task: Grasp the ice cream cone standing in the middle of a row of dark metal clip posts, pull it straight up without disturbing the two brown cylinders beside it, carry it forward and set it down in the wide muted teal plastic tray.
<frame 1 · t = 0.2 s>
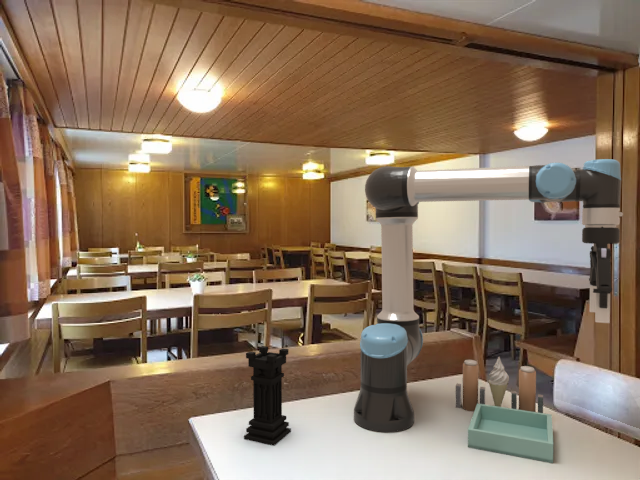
hand: (598, 317, 111), 28 cm above the table, fingers open, 13 cm apart
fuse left: (470, 408, 127), on the table
clip row: (497, 412, 124), on the table
ice cream cone: (497, 413, 124), on the table
chess piece: (267, 436, 111), on the table
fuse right: (526, 417, 121), on the table
tray: (511, 438, 109), on the table
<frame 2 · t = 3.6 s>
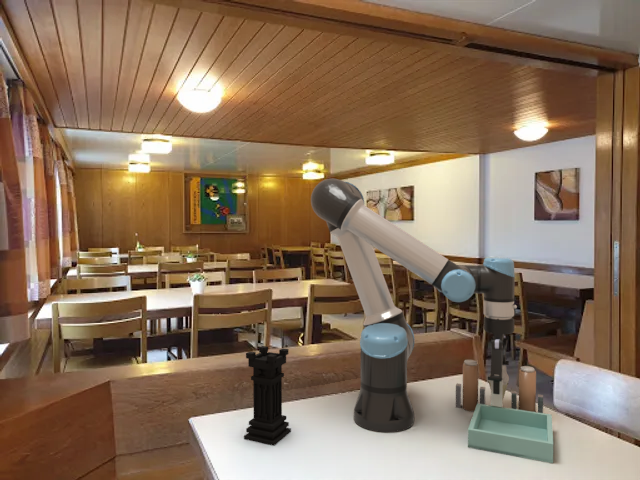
hand: (498, 397, 124), 4 cm above the table, fingers open, 13 cm apart
nothing on the table moved.
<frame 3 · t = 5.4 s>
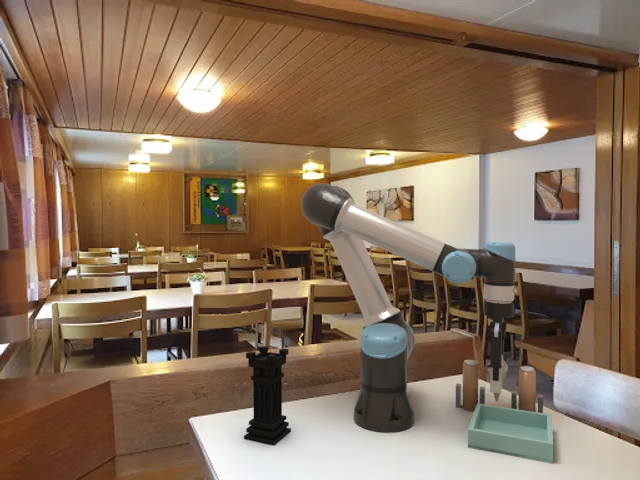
hand: (496, 388, 124), 6 cm above the table, fingers closed on ice cream cone, 5 cm apart
ice cream cone: (496, 402, 124), point 3 cm above the table, touching gripper
everything else where it was.
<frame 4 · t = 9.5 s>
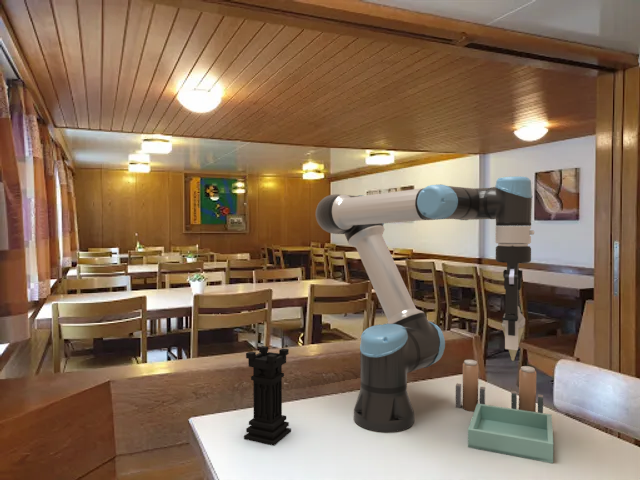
hand: (512, 346, 108), 22 cm above the table, fingers closed on ice cream cone, 5 cm apart
ice cream cone: (512, 361, 109), point 18 cm above the table, touching gripper
everything else where it was.
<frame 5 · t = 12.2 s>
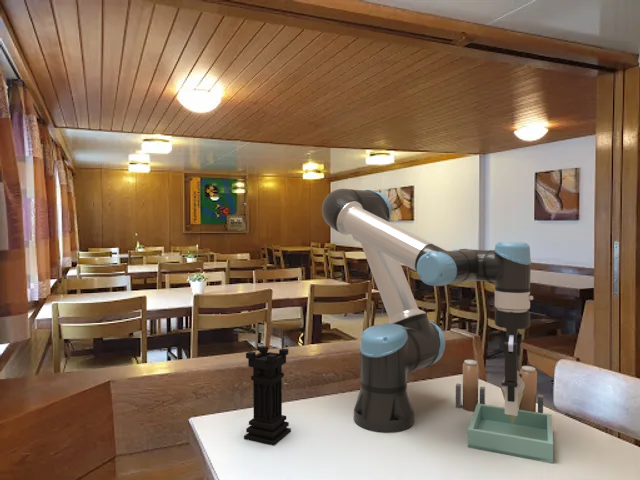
hand: (511, 409, 109), 7 cm above the table, fingers closed on ice cream cone, 5 cm apart
ice cream cone: (512, 424, 109), point 3 cm above the table, touching gripper
everything else where it was.
when the fingers open (3 cm above the table, at t = 13.8 s): ice cream cone stays where it is, resting on tray.
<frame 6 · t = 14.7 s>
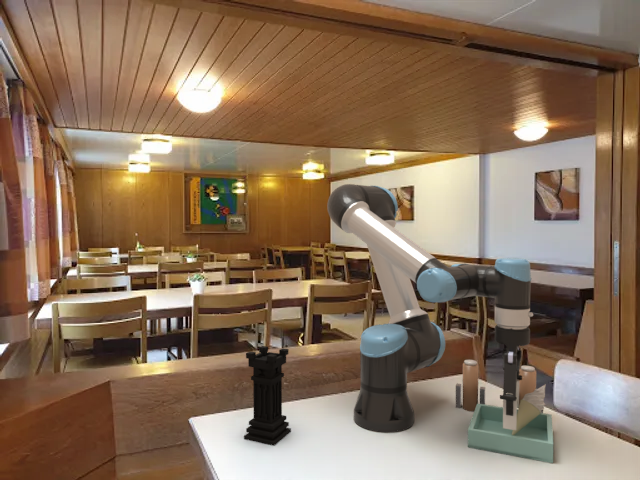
hand: (511, 417, 109), 5 cm above the table, fingers open, 13 cm apart
ice cream cone: (512, 435, 109), point 1 cm above the table, touching tray
everything else where it was.
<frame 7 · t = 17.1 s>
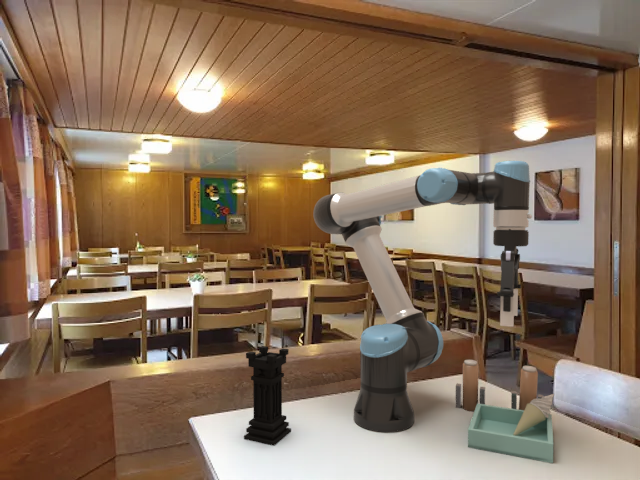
hand: (509, 320, 110), 27 cm above the table, fingers open, 13 cm apart
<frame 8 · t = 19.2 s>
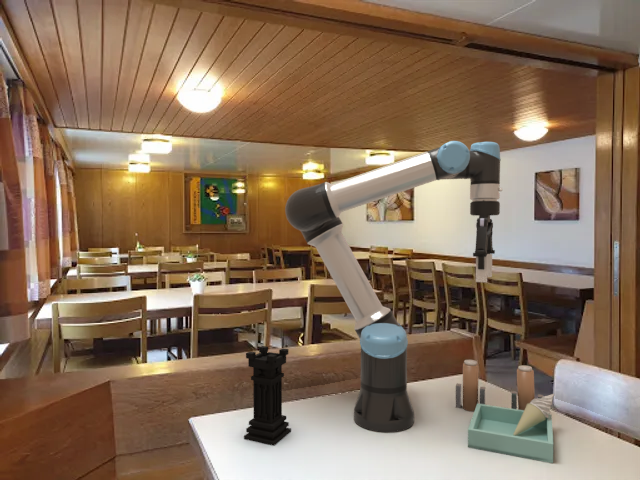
hand: (484, 279, 128), 35 cm above the table, fingers open, 13 cm apart
at the end: ice cream cone inside the target area on the tray (0.5 cm from its centre), point 0.8 cm above the tray's base; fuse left moved 0.0 cm from its start; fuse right moved 0.1 cm from its start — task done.
